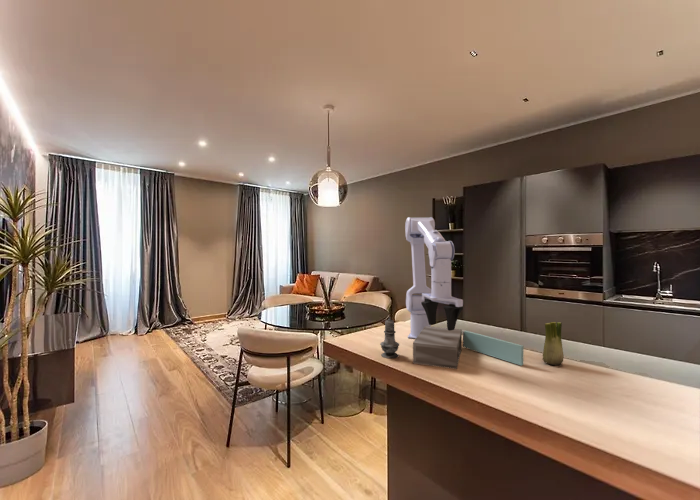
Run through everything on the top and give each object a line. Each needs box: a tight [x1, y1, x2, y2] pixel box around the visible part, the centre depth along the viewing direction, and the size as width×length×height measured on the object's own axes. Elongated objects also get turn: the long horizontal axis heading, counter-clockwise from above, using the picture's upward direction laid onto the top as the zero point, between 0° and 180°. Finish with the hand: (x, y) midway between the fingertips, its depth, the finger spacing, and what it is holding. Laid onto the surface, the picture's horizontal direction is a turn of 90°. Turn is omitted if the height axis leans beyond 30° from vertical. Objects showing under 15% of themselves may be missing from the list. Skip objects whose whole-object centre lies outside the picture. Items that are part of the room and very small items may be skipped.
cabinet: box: [412, 326, 463, 370], centre depth 101 cm, size 20×12×6 cm, turn 157°
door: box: [462, 329, 525, 367], centre depth 99 cm, size 20×2×5 cm, turn 32°
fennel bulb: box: [542, 321, 565, 366], centre depth 92 cm, size 6×5×12 cm
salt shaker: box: [379, 316, 400, 360], centre depth 100 cm, size 6×6×12 cm
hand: (441, 327), depth 97 cm, fingers open, 7 cm apart
